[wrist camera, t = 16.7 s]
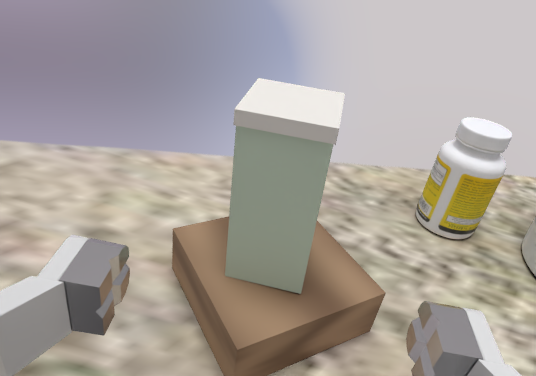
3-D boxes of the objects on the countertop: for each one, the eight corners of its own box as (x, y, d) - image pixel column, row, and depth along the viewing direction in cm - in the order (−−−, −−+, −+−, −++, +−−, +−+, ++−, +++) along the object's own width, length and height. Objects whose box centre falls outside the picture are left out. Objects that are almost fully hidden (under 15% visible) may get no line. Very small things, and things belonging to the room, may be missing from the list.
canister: (302, 295, 24) (339, 128, 19) (222, 276, 25) (234, 109, 19) (312, 243, 28) (345, 93, 23) (243, 228, 29) (258, 78, 23)
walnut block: (230, 395, 23) (237, 349, 21) (172, 272, 30) (172, 228, 28) (368, 334, 28) (385, 293, 26) (290, 240, 35) (298, 201, 33)
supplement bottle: (483, 228, 39) (533, 134, 34) (455, 249, 36) (505, 149, 31) (432, 199, 43) (471, 109, 37) (403, 216, 39) (440, 120, 34)
